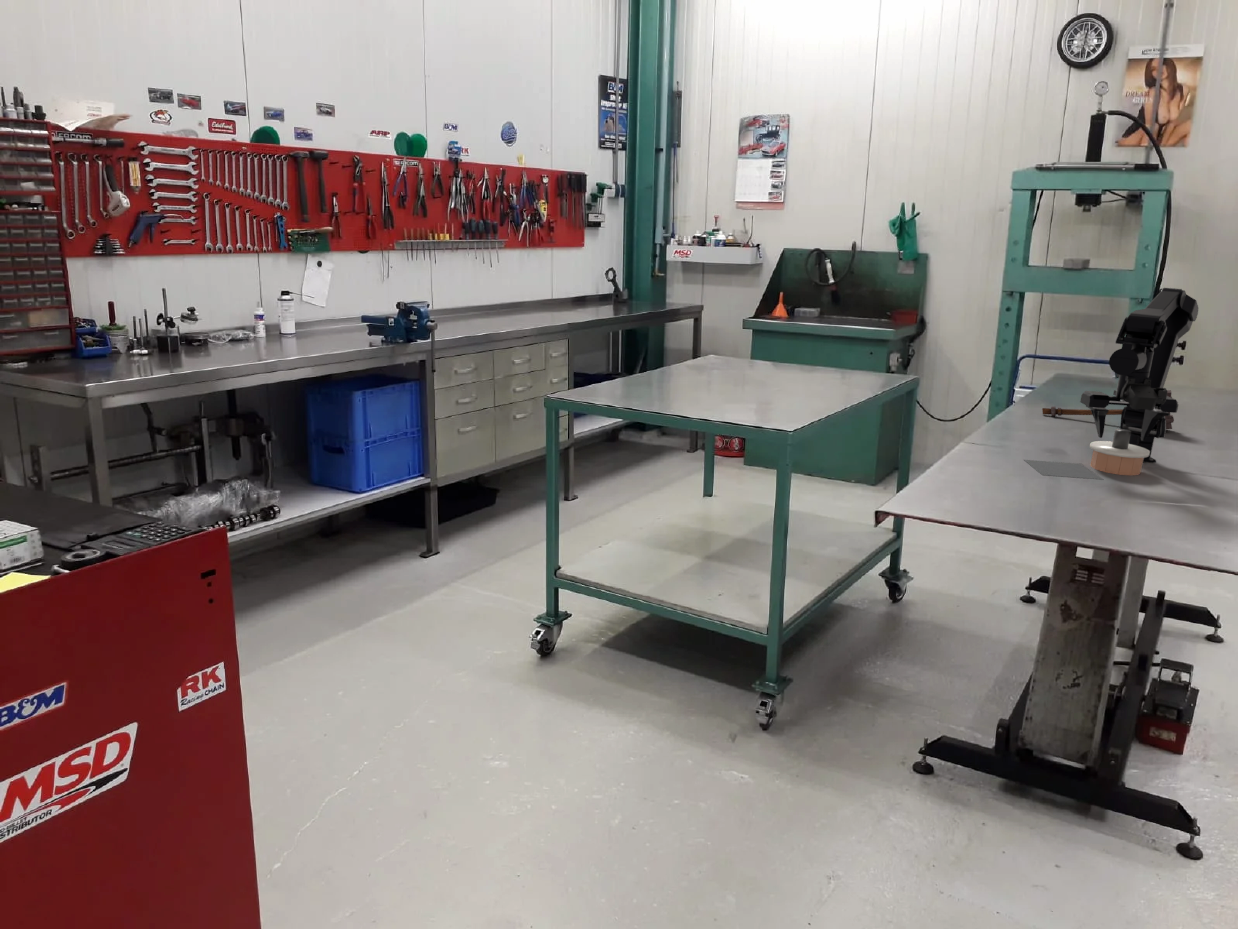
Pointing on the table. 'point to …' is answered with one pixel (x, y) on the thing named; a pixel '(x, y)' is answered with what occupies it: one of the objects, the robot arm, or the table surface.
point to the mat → (1063, 469)
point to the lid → (1120, 446)
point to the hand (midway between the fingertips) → (1121, 438)
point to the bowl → (1116, 464)
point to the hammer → (1059, 412)
